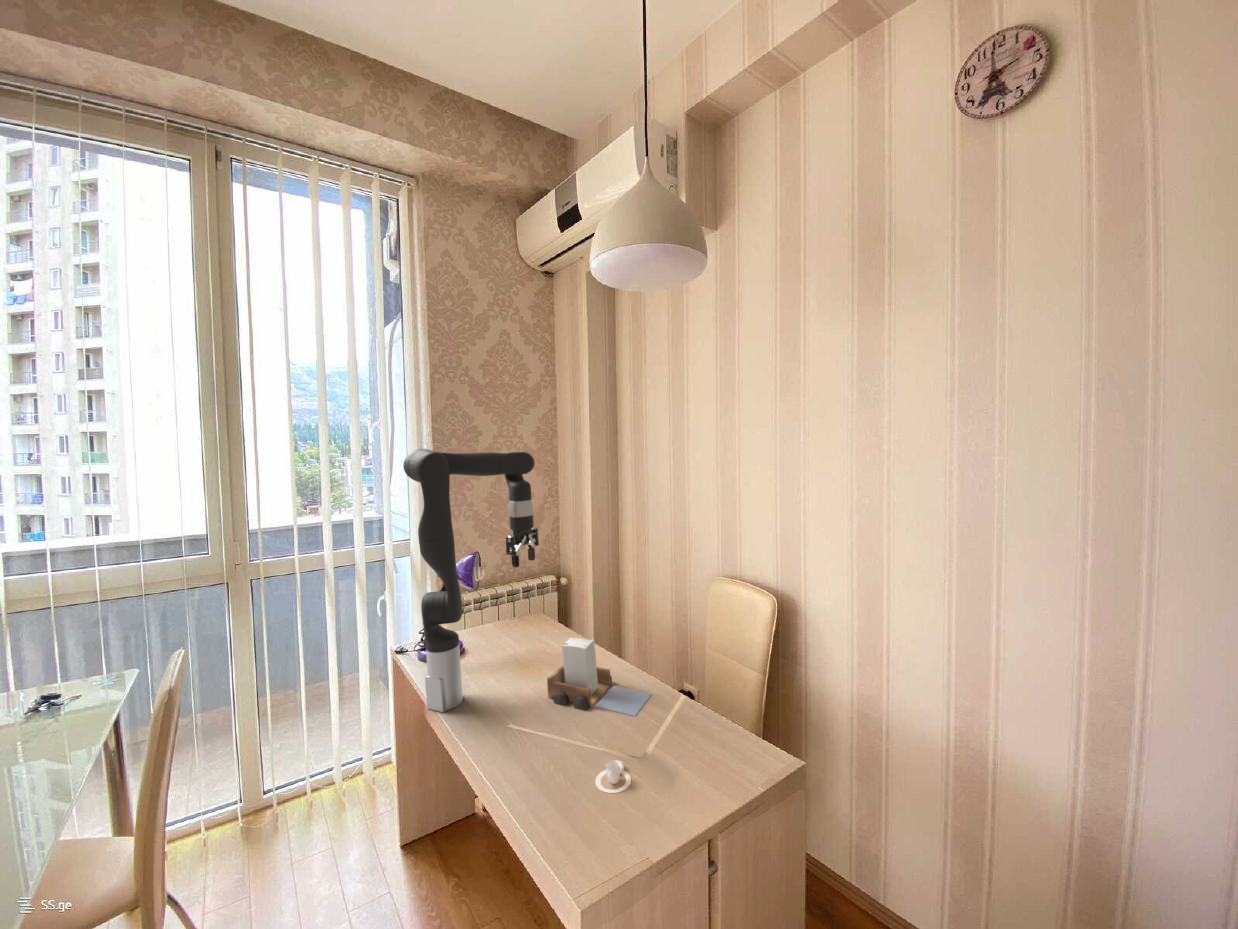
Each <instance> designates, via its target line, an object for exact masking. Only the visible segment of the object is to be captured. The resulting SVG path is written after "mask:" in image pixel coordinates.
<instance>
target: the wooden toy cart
mask: <svg viewBox="0 0 1238 929" xmlns="http://www.w3.org/2000/svg"><path fill="white" fill-rule="evenodd" d="M596 668H597V678H598V689H597V690H596V691H595V692H594V693H593V694H592V695H591V689H590V688H585V687H581V686H576V685H571V684H566V683H565V674H564V664H562V665H561V666H560V667H559V668H558V669H556V670H555V671H554V672H553V673H552V674H550V675H549V676H548V677H547V683H546V684H547V698H548V699H549V700H553V702H554V705H559V706H564V707H566V706H567V705H568V704H571V705H573V708H574V709H577V710H581V711H586V710H587V709H591V708H592V707H594V705H595V704H597V702H599V699H601V697H602V696H604V694H605V693H607V692H608V690H610V689H611V688H612V687H611V686H612V682H613V678H612V675H611V669H609V668H603V667H597V666H596Z"/></svg>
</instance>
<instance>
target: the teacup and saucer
mask: <svg viewBox="0 0 1238 929" xmlns="http://www.w3.org/2000/svg"><path fill="white" fill-rule="evenodd" d="M605 768H606V769H603V771H601V772H599V773H598V775H597V776H596V778H595V781H594V782H595V785H596V788H597V789H599V790H600V791H601V792H603V793H606V794H618V793H621V792H623V791H625V790H626V789H628V788H629V786H630V785H631V783H632V779H631V775H630V774H629V773H628V772H627V771H626V770H625V764H624V762H623V761H621V760H617V759H615V760H610V761H608V762H606V764H605ZM605 775H606V778H607V780H608V783H609V784H611V785H617V784H618V783H619V781H620V777H621V776H620V775H622V776H624V778H625V783H624V785H622V786H621V787H619V788H616V789H609V788H606V787H604V786H603V785H602V783H601V782H602V778H603V777H604V776H605Z"/></svg>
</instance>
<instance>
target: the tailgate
mask: <svg viewBox="0 0 1238 929" xmlns="http://www.w3.org/2000/svg"><path fill="white" fill-rule="evenodd" d="M651 696H652V693H649V692H644V691H640V690H635V689H632V688H627V687H624V686H618V685H615V684H614V685H613V686H612V687H610V688H609V691H607V692H606V694H605V695H603V697H602V698H600V700H598V701H597V702H598V703H596V705H595V709H598V710H604V711H607V712H612V713H617V714H622V715H624V716H625V715H626V716H630V717H634V718H635V717H636V716H637V715H638V714H639V712H640V711H641V710H642V708H643V707H644V705H645V704H646V703H647V702H648V700H649V699H650V698H651Z"/></svg>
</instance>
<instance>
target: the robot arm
mask: <svg viewBox="0 0 1238 929" xmlns="http://www.w3.org/2000/svg"><path fill="white" fill-rule="evenodd" d="M402 466H403V470H404V473H405V474H406V476H408V478H410V480H413V481H415V482H418V483H420V486H421V490H422V497H423V508H422V509H423V510H422V514H421V517H420V520H419V523H418V530H417V536H418V545H419V552H420V554H421V556H422V558H423V560H424V561H425V562H426V564H427V565H428V566H429V567H430V568H431V569H432V570H433V571H434V573H435V574H436V575H437V576H438V577H439V578H440V581H441V582H442V584H443V586H444V588H445V591H444V590H443V591H441V590H439V591H429V592H426V593H425V594H424V595H423V596H422V598H421V603H420V604H421V606H420V607H421V609H420V610H421V618H422V625H423V626H422V627H423V635H424V643H425V654H426V656H425V658H426V669H427V671H426V672H427V675H426V676H425V677H424V682H425V683H424V684H425V696H426V708H427V709H429V710H433V711H435V712H440V713H444V712H446V711H448V710H452V709H454V708H456V707H458V706H460V705H461V704H462V702H463V701H464V700H463V699H464V698H463V697H464V694H463V683H462V682H463V681H462V680H463V679H462V667H461V665H462V664H461V651H460V636H459V633H458V632H457V631H454V630H451V629H448V628H445V627H443V626H442V625H446V624H456V623H458V622H459V621H460V620H461V618H462V615H463V600H462V593H461V589H460V584H459V577H458V571H457V562H456V549H455V548H456V546H455V538H454V537H455V536H454V529H453V521H452V512H451V510H452V509H451V502H450V488H451V487H450V482H451V480H450V479H451V477H450V476H451V475H458V476H459V475H461V476H475V477H486V476H487V477H489V476H491V477H492V476H500V475H504V478H505V481H506V483H507V487H508V500H509V501H508V502H509V503H508V514H509V516H508V517H509V528H510V530H512V535H506V537H505V548H506V550H505V552H506V553H505V554H506V555H507V556H511V566H512V567H513V568H519V567H520V556H519V554H520V550H522V549H523V547H524V546H525V545H526V547H527V555H528V556H527V558H528V559H527V560H528V561H535V559H536V550H535V549H537V546H539V544H540V543H539V533H538V527H534V526H535V525H534V524H535V522H534V507H533V506H534V505H533V500H532V487H531V484H530V482H529V481H527V480H525V479H524V475H527V474H529V473H530V472H532V471H533V469H534V468H535V459H534V457H533V456H532V454H530V453H529V452H526V451H510V452H504V453H503V452H491V451H490V452H470V453H469V452H467V453H466V452H465V453H463V452H462V453H460V452H459V453H455V452H451V453H450V452H441V451H436V450H431V449H428V448H418V449H415V450H413V451H410V452H409V453H408V454H407V455H406V456H405V458H404V461H403V465H402Z"/></svg>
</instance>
